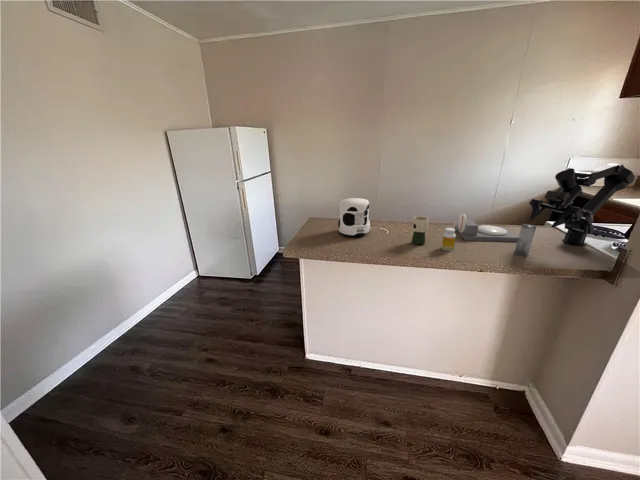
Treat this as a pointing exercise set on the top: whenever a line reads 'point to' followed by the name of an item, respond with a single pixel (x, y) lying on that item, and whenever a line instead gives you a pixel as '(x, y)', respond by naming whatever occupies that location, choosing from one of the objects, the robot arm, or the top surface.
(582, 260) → the top surface
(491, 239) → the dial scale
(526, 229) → the ball
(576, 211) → the robot arm
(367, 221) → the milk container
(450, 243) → the supplement bottle
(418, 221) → the character mug
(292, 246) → the top surface
